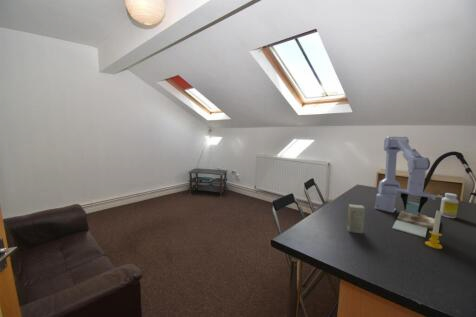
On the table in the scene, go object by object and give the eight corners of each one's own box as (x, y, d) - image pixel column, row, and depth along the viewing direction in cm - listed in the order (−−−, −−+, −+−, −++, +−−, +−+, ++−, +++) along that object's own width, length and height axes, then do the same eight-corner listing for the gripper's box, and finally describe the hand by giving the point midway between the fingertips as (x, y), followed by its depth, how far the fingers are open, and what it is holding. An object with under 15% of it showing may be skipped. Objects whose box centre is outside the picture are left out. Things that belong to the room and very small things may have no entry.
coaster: (392, 228, 100) (392, 227, 100) (396, 221, 108) (396, 220, 108) (425, 237, 91) (425, 236, 91) (427, 229, 100) (427, 227, 99)
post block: (396, 220, 109) (398, 211, 109) (401, 212, 119) (402, 205, 119) (438, 230, 98) (440, 221, 98) (439, 221, 108) (440, 213, 107)
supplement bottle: (459, 219, 112) (463, 196, 110) (445, 218, 113) (448, 195, 111) (449, 214, 118) (453, 192, 116) (436, 213, 119) (439, 191, 118)
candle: (424, 240, 89) (429, 206, 87) (441, 245, 86) (447, 209, 83) (425, 245, 85) (430, 209, 83) (443, 250, 82) (449, 213, 79)
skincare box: (361, 229, 98) (363, 205, 96) (363, 234, 94) (366, 208, 92) (346, 227, 100) (348, 203, 98) (347, 231, 96) (350, 206, 94)
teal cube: (406, 210, 102) (407, 201, 101) (418, 212, 98) (419, 203, 98) (405, 212, 99) (406, 203, 98) (417, 215, 95) (418, 206, 95)
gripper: (395, 181, 99) (391, 208, 101) (436, 187, 89) (432, 217, 90) (397, 179, 104) (394, 204, 106) (437, 184, 93) (433, 213, 95)
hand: (412, 210), depth 98 cm, fingers closed on teal cube, 4 cm apart
